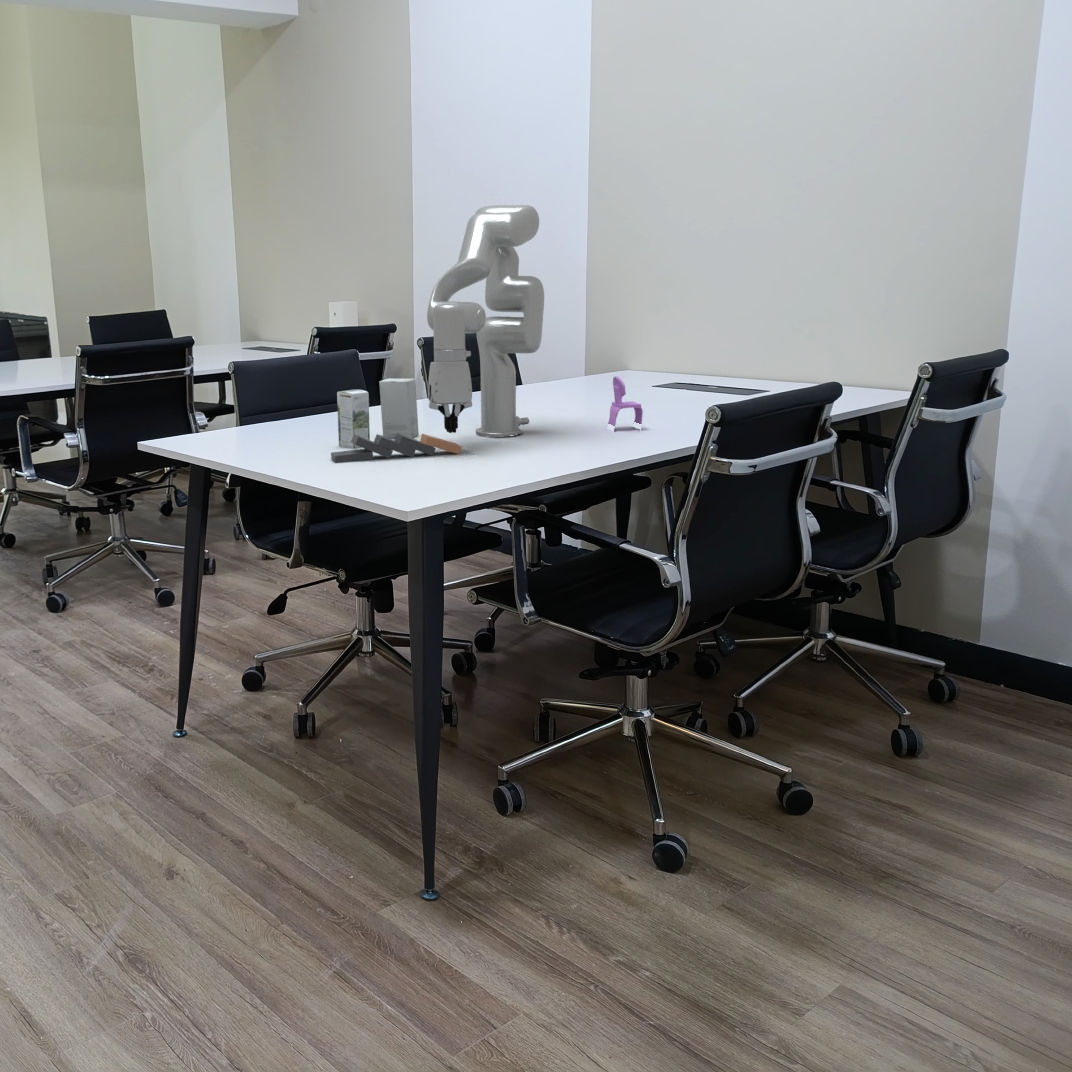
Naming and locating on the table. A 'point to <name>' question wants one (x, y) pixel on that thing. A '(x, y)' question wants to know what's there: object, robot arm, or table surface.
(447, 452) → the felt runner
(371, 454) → the domino
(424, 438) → the domino
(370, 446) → the domino
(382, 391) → the skincare box
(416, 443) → the domino
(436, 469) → the table surface
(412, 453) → the domino
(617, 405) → the toy chair
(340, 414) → the syrup box
